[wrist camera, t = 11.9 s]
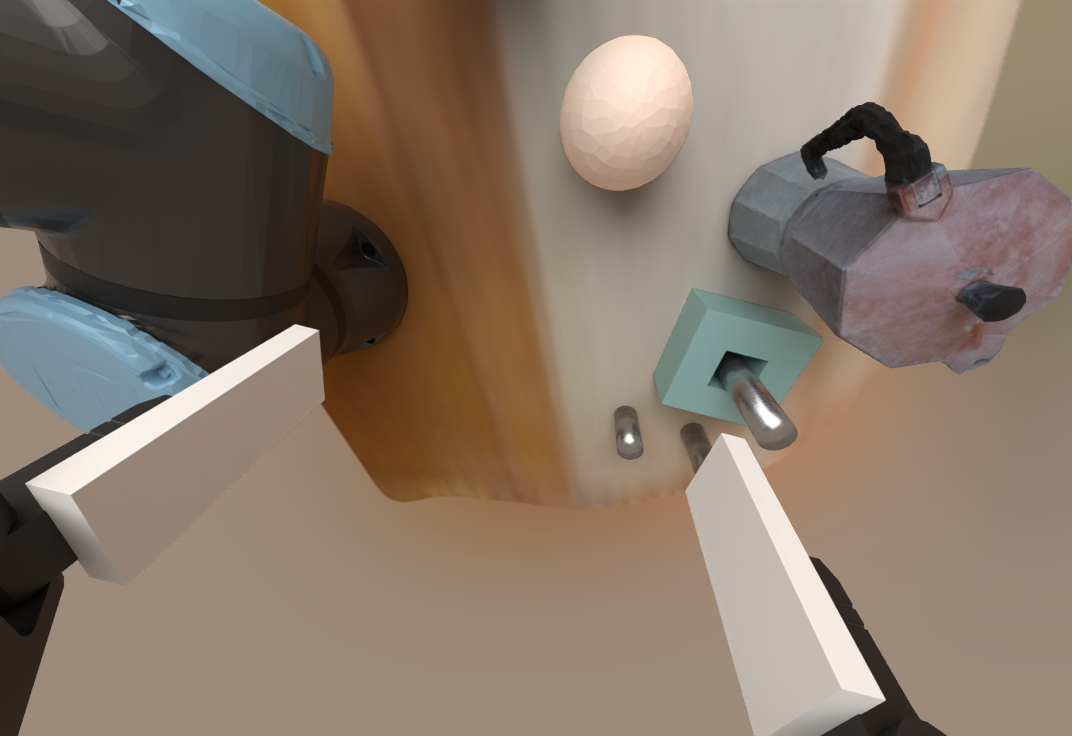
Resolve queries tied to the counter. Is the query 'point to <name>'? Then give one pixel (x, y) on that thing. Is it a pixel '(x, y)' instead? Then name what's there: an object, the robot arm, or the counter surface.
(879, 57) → the counter surface
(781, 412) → the pin long
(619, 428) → the pin short
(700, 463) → the pin medium
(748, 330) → the teal square nut
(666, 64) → the egg
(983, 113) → the counter surface
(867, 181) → the moka pot
